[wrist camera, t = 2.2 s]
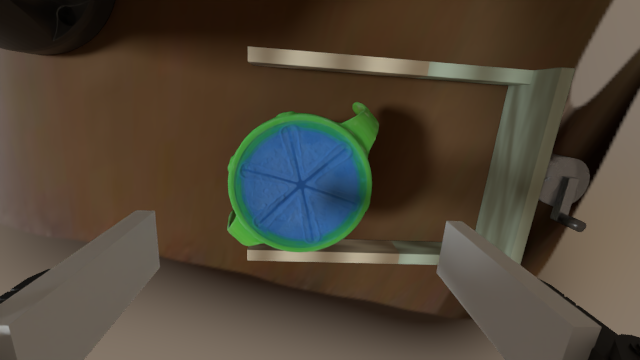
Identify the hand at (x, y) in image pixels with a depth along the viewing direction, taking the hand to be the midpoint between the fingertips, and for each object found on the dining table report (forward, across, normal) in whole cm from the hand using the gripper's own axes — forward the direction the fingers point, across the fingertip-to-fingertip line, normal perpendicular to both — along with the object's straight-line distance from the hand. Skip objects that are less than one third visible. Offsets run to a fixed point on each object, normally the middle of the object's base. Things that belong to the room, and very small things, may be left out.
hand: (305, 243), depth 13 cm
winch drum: (+18, +26, 0) cm, 32 cm away
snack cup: (+18, 0, 0) cm, 19 cm away
